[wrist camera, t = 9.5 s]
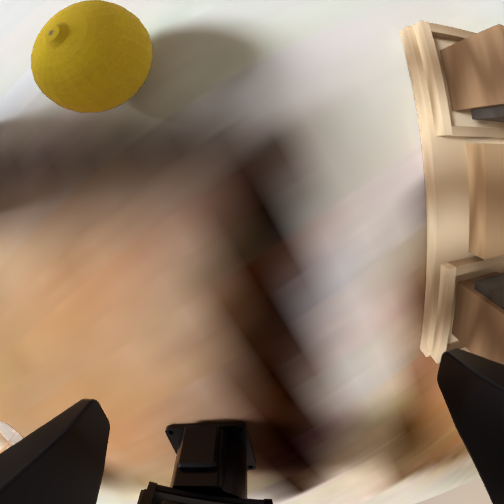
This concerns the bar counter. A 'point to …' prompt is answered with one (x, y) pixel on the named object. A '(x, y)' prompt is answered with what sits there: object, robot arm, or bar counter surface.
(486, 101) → the beige cardboard cube
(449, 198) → the rail
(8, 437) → the wineglass
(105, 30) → the lemon
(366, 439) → the bar counter surface
